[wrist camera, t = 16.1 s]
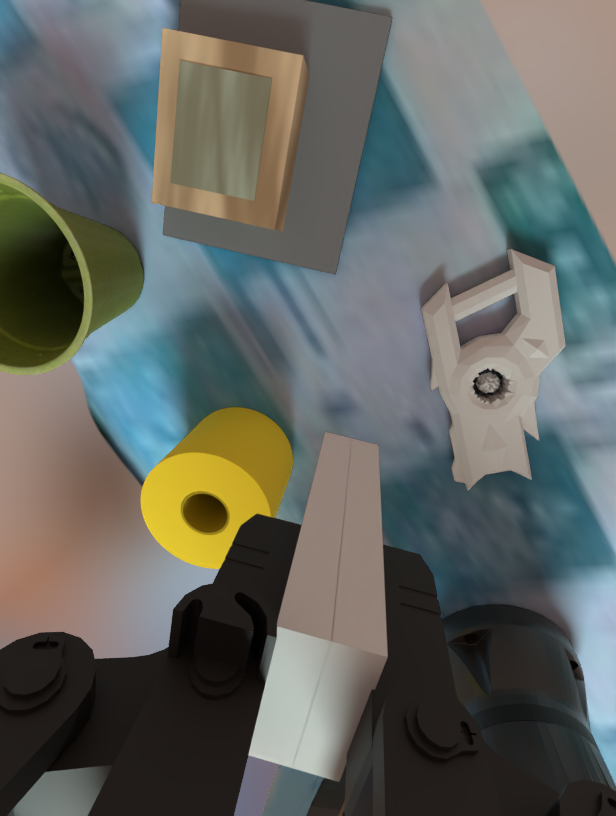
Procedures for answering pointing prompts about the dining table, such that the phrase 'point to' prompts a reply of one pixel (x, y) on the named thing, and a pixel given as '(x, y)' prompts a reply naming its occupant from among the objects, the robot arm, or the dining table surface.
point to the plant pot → (56, 279)
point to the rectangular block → (227, 128)
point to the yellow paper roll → (216, 484)
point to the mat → (320, 129)
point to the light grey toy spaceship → (495, 366)
